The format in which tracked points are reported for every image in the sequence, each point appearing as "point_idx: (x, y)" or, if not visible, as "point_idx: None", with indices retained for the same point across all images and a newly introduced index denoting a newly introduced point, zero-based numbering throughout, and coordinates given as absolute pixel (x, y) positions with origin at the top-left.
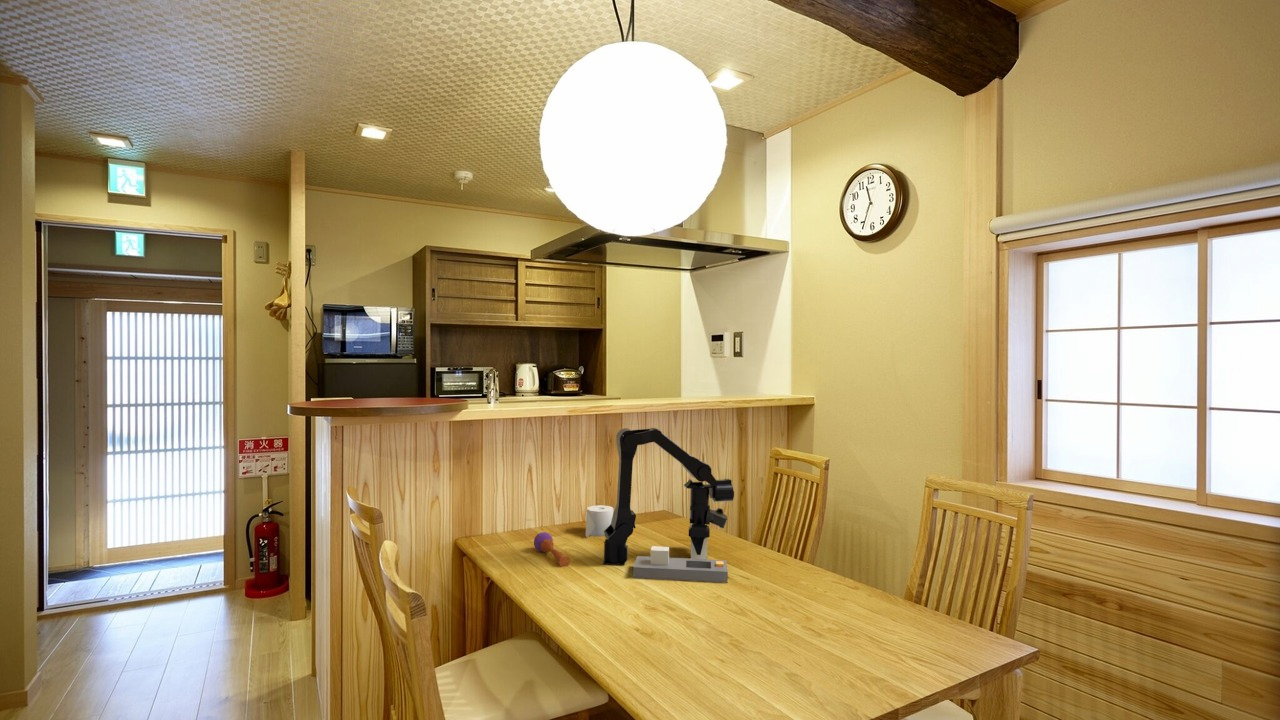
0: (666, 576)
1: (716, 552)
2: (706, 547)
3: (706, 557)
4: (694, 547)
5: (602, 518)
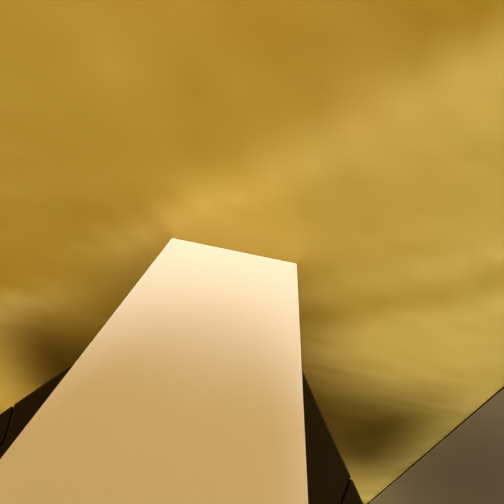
0: None
1: (14, 103)
2: (297, 379)
3: (294, 282)
4: None
5: None
